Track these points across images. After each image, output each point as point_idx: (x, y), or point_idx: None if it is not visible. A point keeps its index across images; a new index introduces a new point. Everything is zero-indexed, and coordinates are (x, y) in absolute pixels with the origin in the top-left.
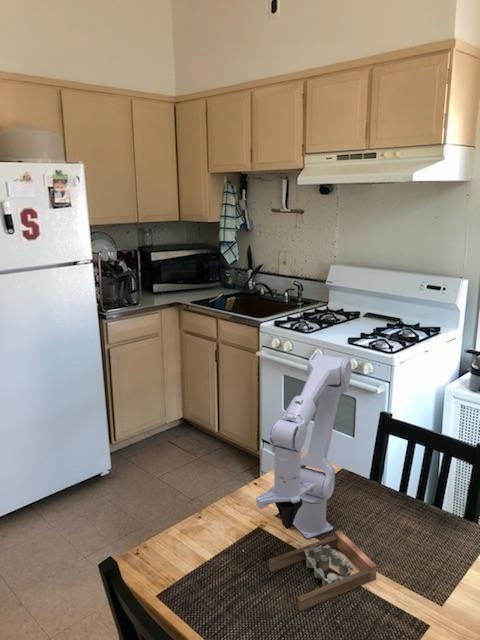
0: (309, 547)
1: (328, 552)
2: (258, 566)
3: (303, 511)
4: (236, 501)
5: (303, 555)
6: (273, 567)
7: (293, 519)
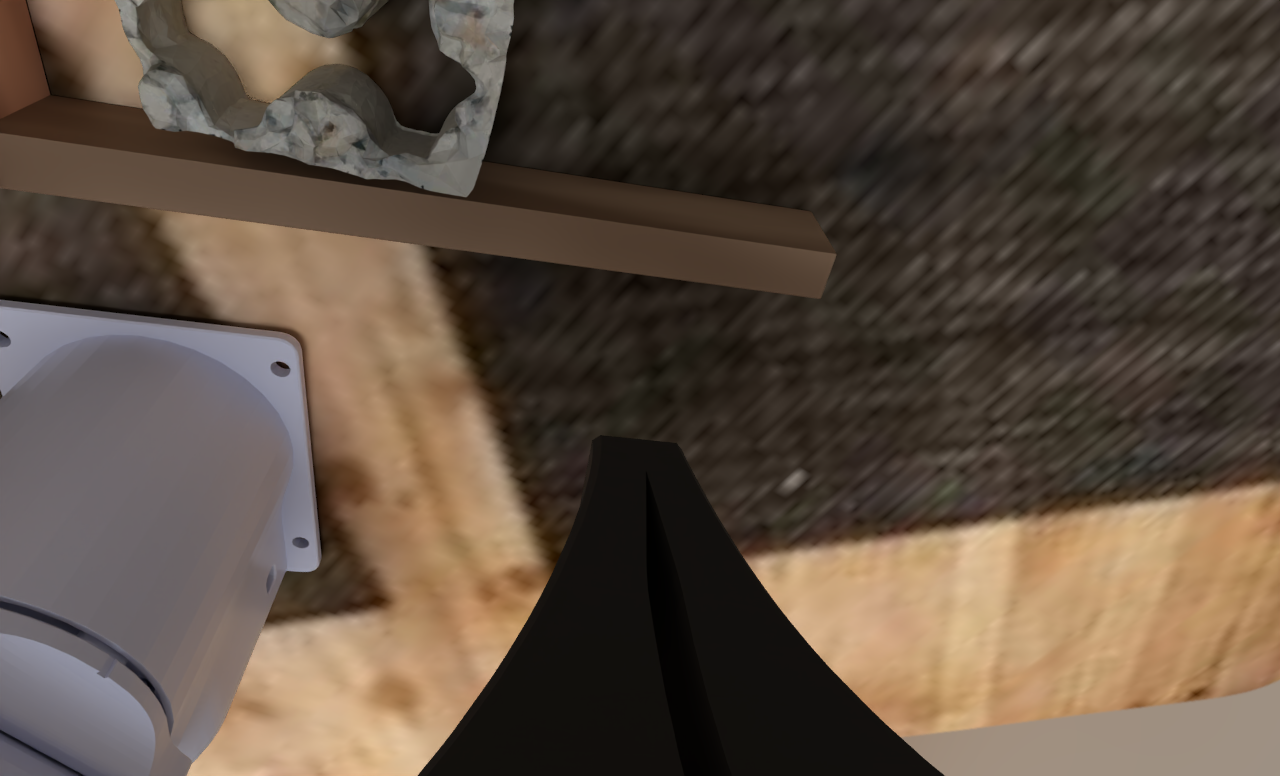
0: (377, 202)
1: (192, 58)
2: (832, 315)
3: (200, 563)
4: None
5: None
6: (795, 225)
7: (594, 527)
